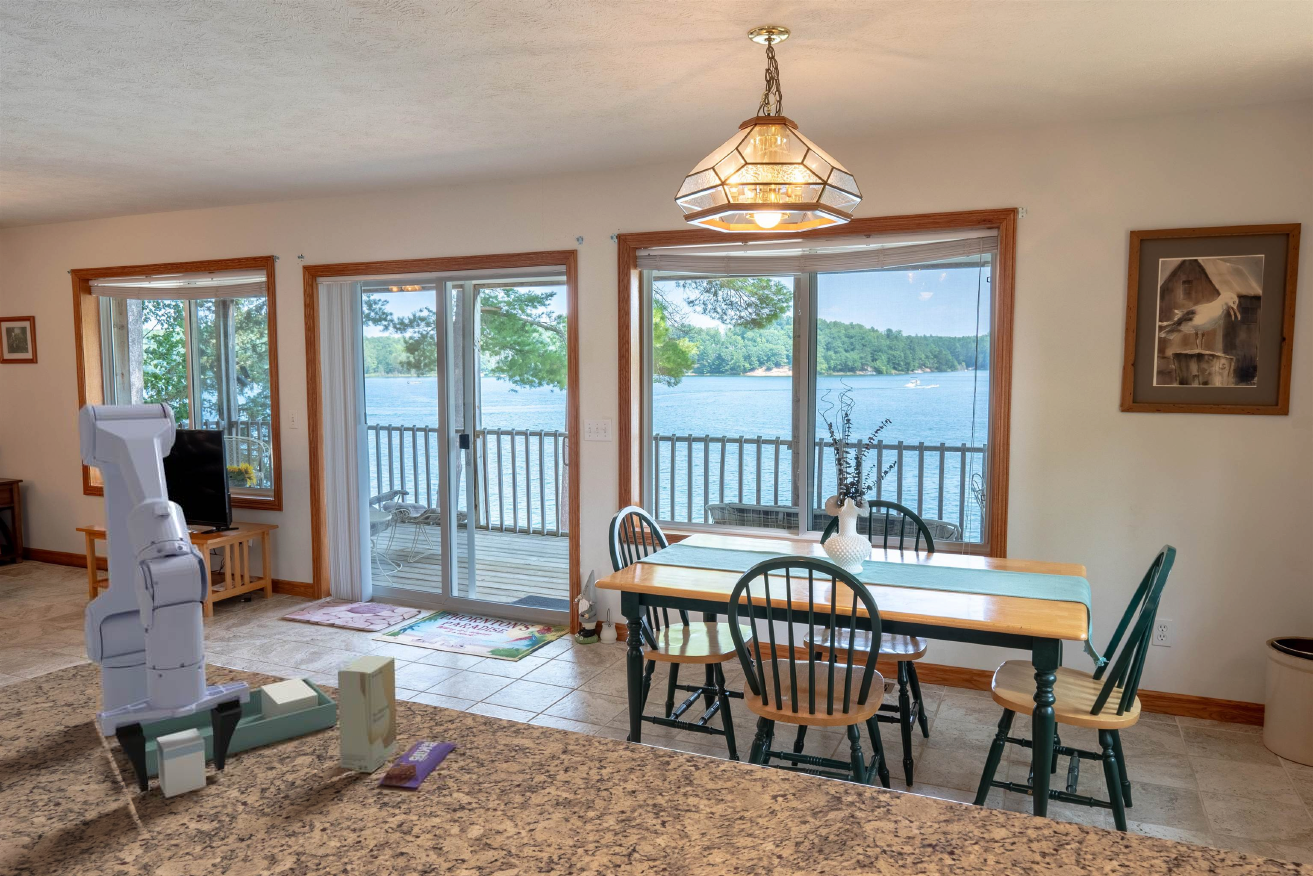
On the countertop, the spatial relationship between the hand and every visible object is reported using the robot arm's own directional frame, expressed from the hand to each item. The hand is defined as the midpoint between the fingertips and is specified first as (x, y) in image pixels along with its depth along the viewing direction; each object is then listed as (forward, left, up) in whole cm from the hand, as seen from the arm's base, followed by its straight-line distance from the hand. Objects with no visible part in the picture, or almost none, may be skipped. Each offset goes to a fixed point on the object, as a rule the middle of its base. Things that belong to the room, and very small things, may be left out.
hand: (182, 777), depth 96 cm
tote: (-11, +8, -1) cm, 14 cm away
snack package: (+12, +23, -2) cm, 26 cm away
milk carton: (0, 0, -2) cm, 2 cm away
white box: (-11, +15, -1) cm, 19 cm away
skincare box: (+7, +19, -2) cm, 20 cm away
